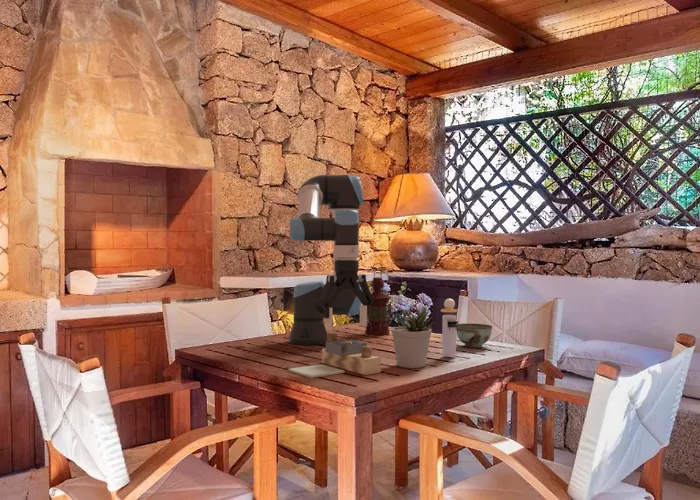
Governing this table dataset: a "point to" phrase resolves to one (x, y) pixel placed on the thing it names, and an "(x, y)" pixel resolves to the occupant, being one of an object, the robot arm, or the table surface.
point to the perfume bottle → (449, 329)
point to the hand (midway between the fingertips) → (346, 327)
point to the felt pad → (316, 370)
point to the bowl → (474, 334)
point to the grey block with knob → (345, 347)
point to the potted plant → (412, 340)
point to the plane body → (353, 359)
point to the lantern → (378, 309)
